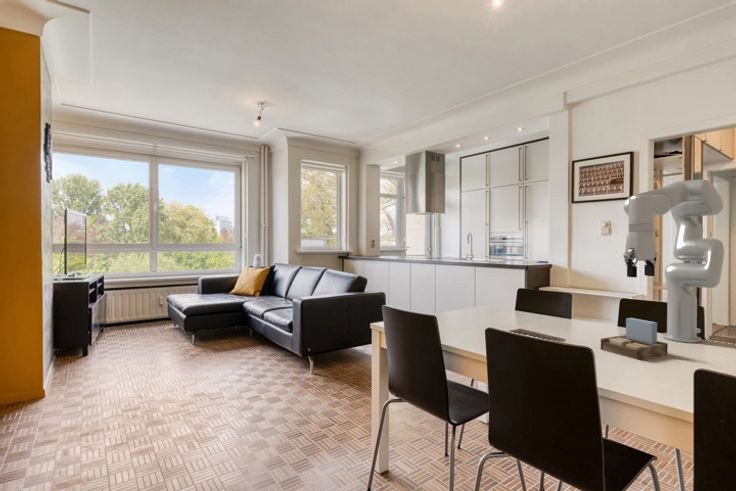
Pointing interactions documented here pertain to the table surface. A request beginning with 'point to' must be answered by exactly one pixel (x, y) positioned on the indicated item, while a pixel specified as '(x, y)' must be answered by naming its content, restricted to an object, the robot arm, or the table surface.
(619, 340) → the offcut
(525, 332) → the picture frame
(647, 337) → the panel
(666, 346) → the rack
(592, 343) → the table surface
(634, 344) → the offcut
